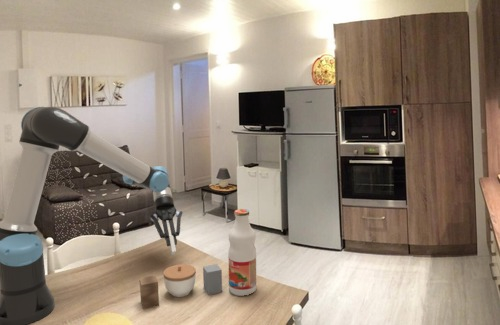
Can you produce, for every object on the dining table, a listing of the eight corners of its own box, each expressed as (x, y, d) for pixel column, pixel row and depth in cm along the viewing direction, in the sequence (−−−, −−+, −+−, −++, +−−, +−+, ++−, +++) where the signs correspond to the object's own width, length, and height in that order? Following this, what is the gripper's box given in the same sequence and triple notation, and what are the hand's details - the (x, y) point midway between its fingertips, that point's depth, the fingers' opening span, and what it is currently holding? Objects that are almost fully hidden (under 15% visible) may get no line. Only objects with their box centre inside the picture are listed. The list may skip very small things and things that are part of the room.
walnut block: (142, 309, 110) (141, 285, 109) (140, 301, 114) (139, 278, 113) (159, 305, 112) (157, 281, 111) (156, 298, 116) (155, 275, 115)
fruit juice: (261, 292, 120) (261, 212, 116) (237, 299, 115) (235, 216, 111) (247, 280, 128) (247, 205, 124) (224, 287, 123) (222, 209, 119)
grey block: (207, 295, 118) (207, 272, 117) (203, 288, 123) (203, 266, 122) (222, 292, 120) (221, 269, 119) (217, 285, 125) (216, 264, 123)
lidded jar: (201, 294, 119) (201, 267, 117) (171, 304, 113) (170, 276, 111) (188, 281, 127) (187, 257, 126) (159, 290, 121) (158, 264, 120)
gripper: (177, 202, 152) (189, 254, 139) (146, 206, 146) (155, 260, 134) (180, 193, 146) (192, 245, 133) (147, 196, 141) (157, 251, 128)
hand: (173, 252), depth 134 cm, fingers closed
